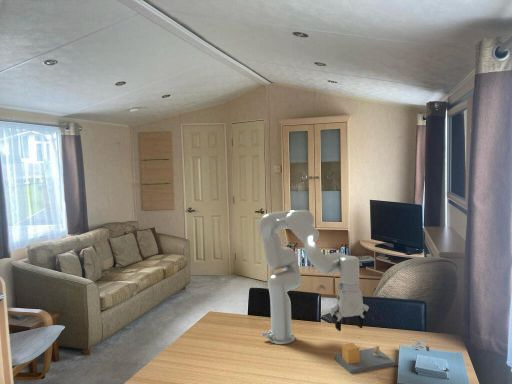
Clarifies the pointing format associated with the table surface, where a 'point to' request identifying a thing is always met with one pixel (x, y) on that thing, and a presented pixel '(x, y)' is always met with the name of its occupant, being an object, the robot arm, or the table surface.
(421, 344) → the adjustable wrench
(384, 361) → the terminal board
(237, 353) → the table surface
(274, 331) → the robot arm
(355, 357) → the orange block
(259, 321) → the table surface
